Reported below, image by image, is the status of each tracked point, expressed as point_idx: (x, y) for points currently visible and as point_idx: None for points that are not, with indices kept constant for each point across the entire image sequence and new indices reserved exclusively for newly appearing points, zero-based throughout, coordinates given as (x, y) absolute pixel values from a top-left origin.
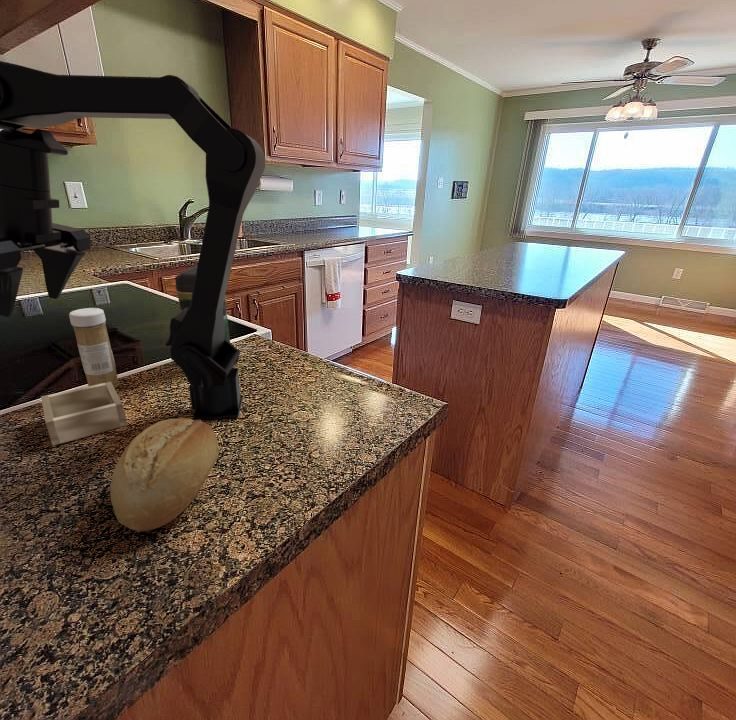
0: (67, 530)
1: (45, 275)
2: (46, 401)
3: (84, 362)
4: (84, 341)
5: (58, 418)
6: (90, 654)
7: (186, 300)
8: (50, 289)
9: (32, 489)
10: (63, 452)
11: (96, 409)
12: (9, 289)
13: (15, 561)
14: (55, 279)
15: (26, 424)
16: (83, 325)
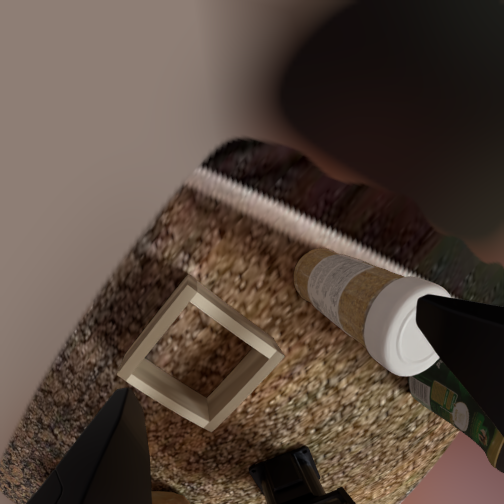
0: (49, 456)
1: (496, 332)
2: (174, 313)
3: (319, 287)
4: (344, 320)
5: (134, 382)
6: (20, 498)
7: (494, 429)
8: (442, 323)
9: (59, 397)
10: (120, 378)
11: (181, 412)
12: None
13: (16, 440)
14: (478, 365)
15: (159, 257)
16: (367, 348)
